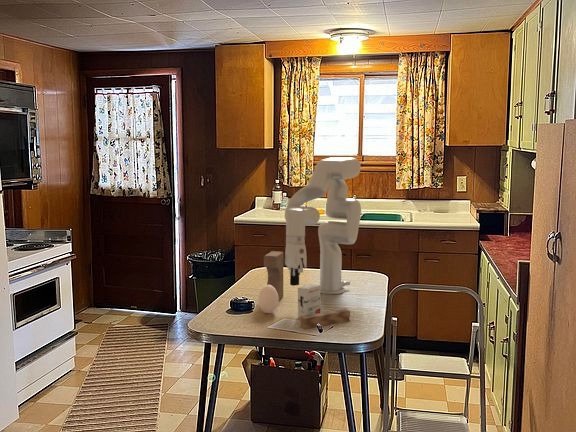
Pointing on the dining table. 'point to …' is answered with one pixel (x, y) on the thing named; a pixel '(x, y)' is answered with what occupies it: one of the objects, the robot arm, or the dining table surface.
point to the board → (324, 318)
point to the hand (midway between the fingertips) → (294, 284)
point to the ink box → (308, 300)
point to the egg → (268, 299)
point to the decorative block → (275, 270)
